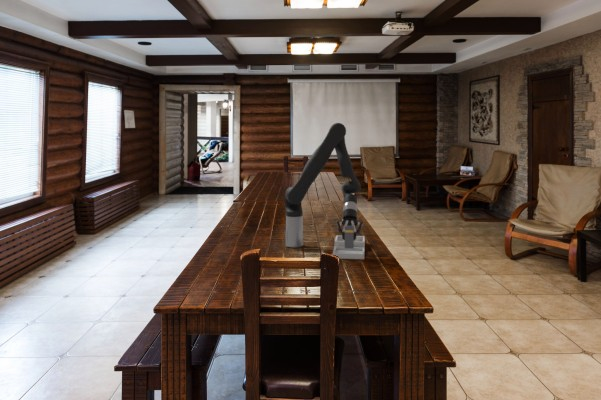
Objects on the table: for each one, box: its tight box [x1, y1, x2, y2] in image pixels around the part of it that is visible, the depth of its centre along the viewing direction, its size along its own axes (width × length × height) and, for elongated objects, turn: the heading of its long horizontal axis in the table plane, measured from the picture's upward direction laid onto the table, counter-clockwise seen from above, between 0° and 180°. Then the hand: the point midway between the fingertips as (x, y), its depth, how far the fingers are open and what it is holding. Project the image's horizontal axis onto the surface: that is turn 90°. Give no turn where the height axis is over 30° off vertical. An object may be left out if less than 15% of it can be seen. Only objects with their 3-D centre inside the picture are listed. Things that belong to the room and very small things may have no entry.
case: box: [334, 235, 366, 249], centre depth 270 cm, size 16×16×5 cm
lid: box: [332, 246, 365, 260], centre depth 256 cm, size 16×14×2 cm
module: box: [345, 225, 354, 248], centre depth 254 cm, size 4×5×11 cm
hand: (349, 239), depth 253 cm, fingers closed on module, 4 cm apart
